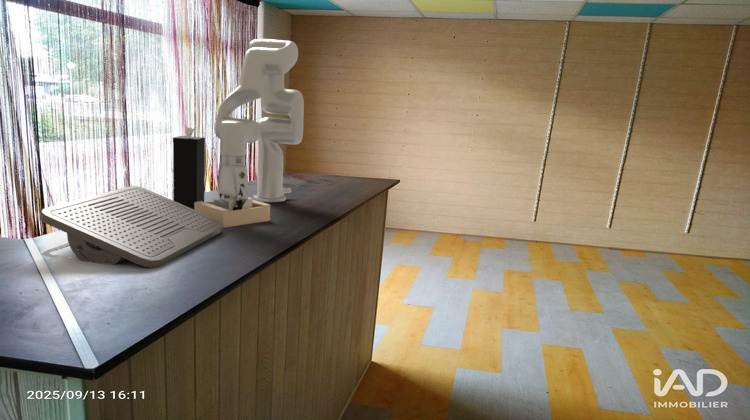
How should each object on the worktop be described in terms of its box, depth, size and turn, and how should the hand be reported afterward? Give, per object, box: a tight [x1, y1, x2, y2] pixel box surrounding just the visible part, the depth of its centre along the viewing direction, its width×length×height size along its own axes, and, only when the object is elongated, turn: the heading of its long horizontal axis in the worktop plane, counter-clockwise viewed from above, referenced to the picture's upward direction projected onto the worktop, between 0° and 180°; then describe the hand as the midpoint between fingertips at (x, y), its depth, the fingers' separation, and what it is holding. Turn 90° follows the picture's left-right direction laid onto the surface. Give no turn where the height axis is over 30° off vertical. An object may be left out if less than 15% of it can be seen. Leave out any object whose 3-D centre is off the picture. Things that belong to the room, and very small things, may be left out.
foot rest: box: [39, 185, 224, 269], centre depth 138 cm, size 39×30×13 cm
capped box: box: [213, 195, 253, 211], centre depth 172 cm, size 11×5×6 cm, turn 141°
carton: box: [194, 199, 271, 229], centre depth 171 cm, size 18×15×6 cm
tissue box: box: [172, 126, 206, 209], centre depth 179 cm, size 8×8×28 cm
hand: (231, 216), depth 172 cm, fingers closed on capped box, 5 cm apart
